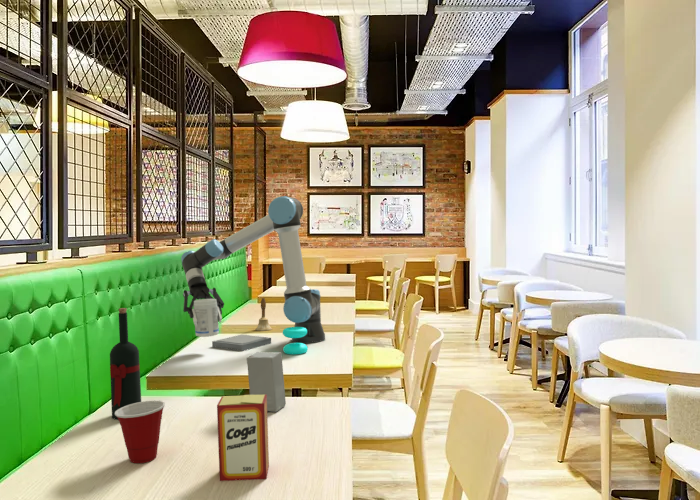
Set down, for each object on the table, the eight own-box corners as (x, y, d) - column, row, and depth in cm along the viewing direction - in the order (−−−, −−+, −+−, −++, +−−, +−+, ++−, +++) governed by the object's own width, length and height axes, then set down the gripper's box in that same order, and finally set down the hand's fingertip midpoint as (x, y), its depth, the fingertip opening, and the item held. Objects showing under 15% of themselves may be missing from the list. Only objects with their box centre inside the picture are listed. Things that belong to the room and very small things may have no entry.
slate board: (271, 343, 266) (271, 337, 266) (242, 351, 251) (242, 344, 251) (241, 339, 276) (241, 334, 276) (212, 347, 261) (212, 340, 261)
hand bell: (263, 327, 309) (262, 296, 308) (275, 328, 304) (274, 297, 303) (251, 330, 302) (250, 298, 301) (263, 331, 297) (262, 299, 296)
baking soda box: (219, 481, 122) (216, 403, 121) (224, 468, 129) (221, 394, 128) (266, 478, 123) (263, 401, 122) (268, 466, 129) (266, 392, 128)
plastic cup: (124, 451, 140) (122, 400, 140) (171, 448, 141) (169, 398, 141) (109, 469, 129) (107, 414, 129) (161, 466, 130) (158, 412, 130)
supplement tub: (212, 332, 256) (211, 298, 255) (223, 334, 249) (221, 299, 248) (191, 335, 250) (189, 300, 249) (201, 338, 242) (199, 302, 242)
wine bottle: (102, 422, 161) (97, 312, 160) (119, 411, 171) (115, 306, 170) (131, 422, 161) (126, 311, 160) (146, 410, 171) (142, 306, 170)
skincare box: (286, 406, 172) (284, 351, 171) (275, 413, 165) (273, 356, 165) (259, 404, 175) (258, 350, 174) (247, 411, 168) (246, 355, 167)
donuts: (311, 326, 247) (300, 330, 238) (311, 350, 248) (300, 355, 239) (289, 325, 251) (278, 329, 242) (290, 349, 252) (278, 354, 242)
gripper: (219, 284, 267) (232, 324, 254) (169, 289, 257) (180, 330, 243) (222, 273, 262) (236, 313, 249) (171, 277, 252) (182, 319, 238)
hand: (208, 321), depth 246 cm, fingers closed on supplement tub, 9 cm apart
